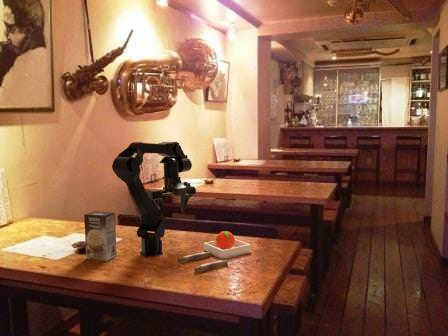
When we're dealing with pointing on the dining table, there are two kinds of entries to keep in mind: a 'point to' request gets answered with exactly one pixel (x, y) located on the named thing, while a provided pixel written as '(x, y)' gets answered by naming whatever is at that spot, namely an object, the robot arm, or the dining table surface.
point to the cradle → (204, 266)
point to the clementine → (225, 240)
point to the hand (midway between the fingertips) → (172, 214)
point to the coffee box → (100, 235)
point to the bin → (236, 250)
